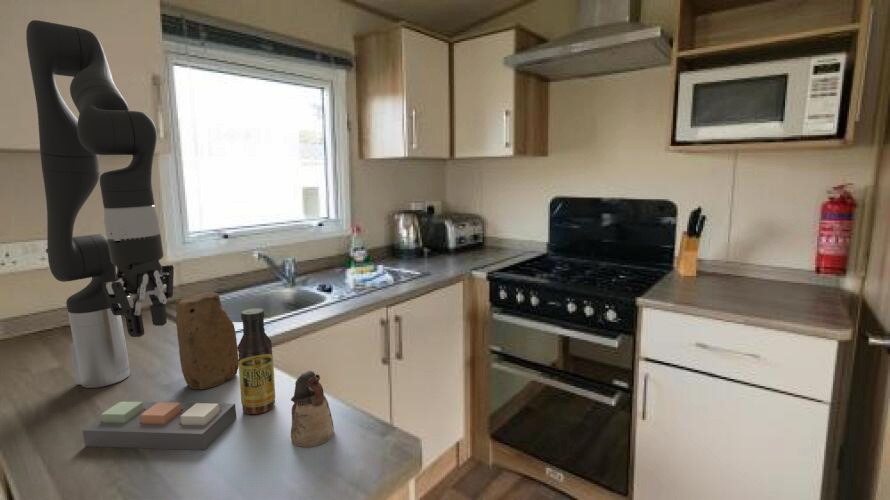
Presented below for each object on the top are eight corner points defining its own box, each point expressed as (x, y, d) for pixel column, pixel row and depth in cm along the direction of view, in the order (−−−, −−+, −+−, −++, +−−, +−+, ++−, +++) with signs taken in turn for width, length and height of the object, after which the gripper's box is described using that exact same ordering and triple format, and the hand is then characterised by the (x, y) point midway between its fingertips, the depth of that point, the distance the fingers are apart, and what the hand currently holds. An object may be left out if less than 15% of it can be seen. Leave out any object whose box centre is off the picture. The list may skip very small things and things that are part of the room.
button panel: (85, 446, 81) (82, 430, 80) (129, 415, 91) (126, 401, 90) (204, 450, 78) (202, 433, 78) (236, 418, 88) (234, 403, 88)
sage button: (103, 424, 83) (101, 414, 83) (122, 411, 87) (120, 401, 87) (125, 424, 82) (124, 414, 82) (144, 411, 87) (142, 402, 86)
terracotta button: (142, 425, 82) (140, 414, 82) (159, 412, 86) (158, 402, 86) (165, 426, 82) (163, 415, 81) (181, 412, 86) (180, 402, 86)
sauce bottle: (243, 419, 88) (231, 318, 84) (241, 405, 93) (229, 309, 90) (280, 410, 91) (270, 312, 87) (275, 397, 96) (265, 304, 93)
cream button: (181, 426, 81) (180, 415, 81) (197, 413, 86) (196, 403, 85) (205, 427, 81) (204, 416, 81) (220, 413, 85) (218, 403, 85)
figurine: (318, 420, 87) (312, 359, 84) (342, 433, 82) (337, 369, 80) (283, 438, 81) (277, 374, 79) (307, 453, 77) (301, 385, 75)
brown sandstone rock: (192, 395, 98) (179, 303, 94) (181, 384, 103) (169, 297, 100) (244, 377, 105) (234, 292, 102) (231, 368, 111) (221, 287, 107)
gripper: (144, 228, 85) (157, 317, 88) (76, 241, 71) (94, 346, 74) (182, 227, 85) (194, 317, 88) (121, 240, 71) (138, 346, 74)
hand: (148, 329), depth 81 cm, fingers open, 5 cm apart
